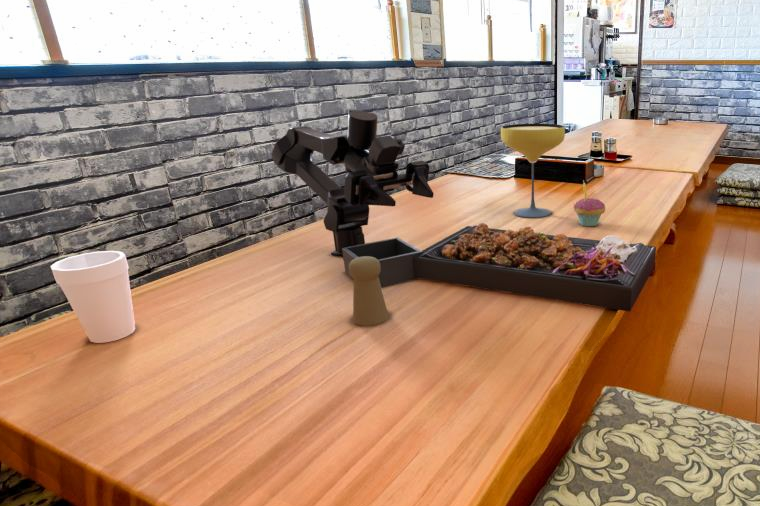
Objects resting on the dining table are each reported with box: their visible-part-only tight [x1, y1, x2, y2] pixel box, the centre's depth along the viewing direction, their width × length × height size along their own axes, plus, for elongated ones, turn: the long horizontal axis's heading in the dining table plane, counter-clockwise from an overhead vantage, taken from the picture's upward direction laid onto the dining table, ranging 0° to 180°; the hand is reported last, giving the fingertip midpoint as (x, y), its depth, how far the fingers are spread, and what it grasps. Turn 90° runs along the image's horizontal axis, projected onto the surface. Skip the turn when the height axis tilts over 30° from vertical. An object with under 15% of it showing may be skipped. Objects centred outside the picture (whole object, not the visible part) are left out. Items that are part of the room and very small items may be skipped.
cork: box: [349, 256, 389, 327], centre depth 90 cm, size 6×6×11 cm
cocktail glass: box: [500, 123, 566, 219], centre depth 153 cm, size 18×18×25 cm
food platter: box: [412, 222, 657, 313], centre depth 109 cm, size 45×25×10 cm, turn 66°
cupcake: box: [573, 179, 606, 227], centre depth 144 cm, size 9×8×12 cm
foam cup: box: [50, 250, 136, 344], centre depth 86 cm, size 10×9×13 cm
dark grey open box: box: [342, 236, 423, 288], centre depth 111 cm, size 13×13×6 cm
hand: (414, 199), depth 103 cm, fingers open, 9 cm apart
